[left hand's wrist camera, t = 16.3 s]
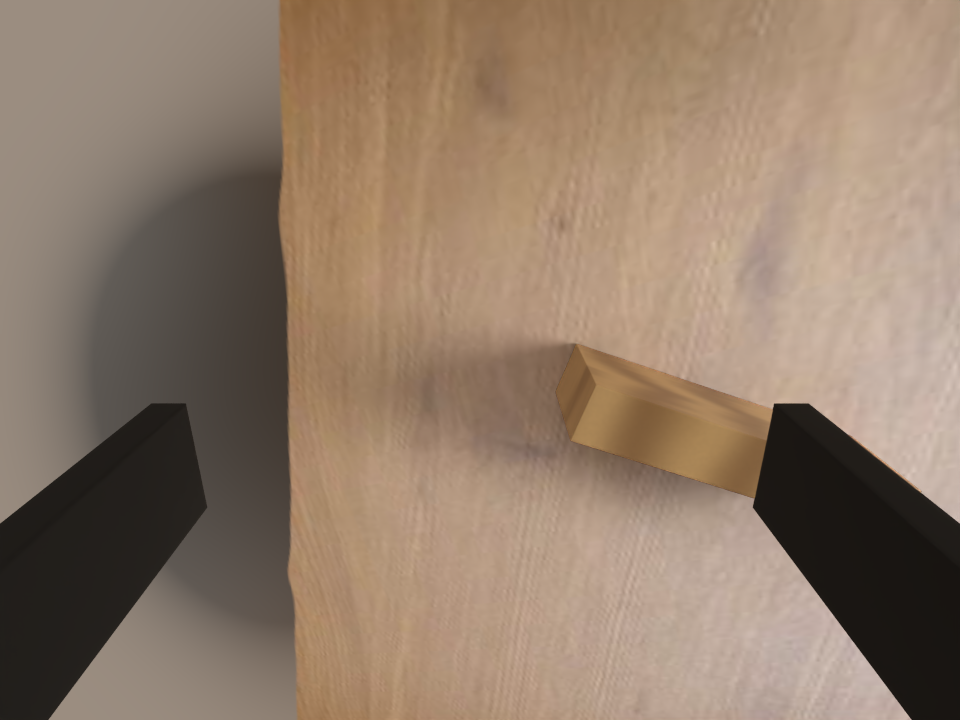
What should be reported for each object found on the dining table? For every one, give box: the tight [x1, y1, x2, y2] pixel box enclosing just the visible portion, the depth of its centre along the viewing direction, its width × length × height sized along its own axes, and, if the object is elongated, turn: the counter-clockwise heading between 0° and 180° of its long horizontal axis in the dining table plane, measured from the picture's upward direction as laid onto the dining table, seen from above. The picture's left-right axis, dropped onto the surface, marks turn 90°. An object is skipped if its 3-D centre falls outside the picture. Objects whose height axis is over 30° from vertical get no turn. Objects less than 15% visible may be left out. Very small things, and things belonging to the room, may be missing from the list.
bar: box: [556, 344, 921, 498], centre depth 43 cm, size 25×4×8 cm, turn 71°
